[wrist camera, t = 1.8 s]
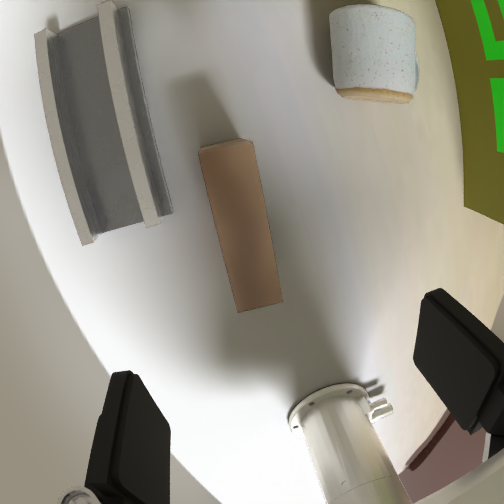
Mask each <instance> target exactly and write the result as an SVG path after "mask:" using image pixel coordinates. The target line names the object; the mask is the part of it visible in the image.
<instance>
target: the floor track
mask: <svg viewBox="0 0 504 504" xmlns="http://www.w3.org/2000/svg"><path fill="white" fill-rule="evenodd" d="M97 6H98V14H99V17H96V18H94V19H91V20H89V21H86V22H84V23H81V24H79V25H77V26H75V27H72V28H70V29H68V30H66V31H64V32H61V33H59V34H55V33H53V32H51V31H49V30H48V29H46V28H45V29H44V30H42V31H40V32H38V33H36V34H34V36H35V48H36V58H37V67H38V75H39V82H40V88H41V95H42V101H43V106H44V112H45V117H46V122H47V127H48V131H49V136H50V140H51V145H52V149H53V153H54V157H55V161H56V165H57V168H58V172H59V176H60V179H61V183H62V186H63V190H64V193H65V196H66V200H67V203H68V206H69V209H70V212H71V215H72V218H73V221H74V224H75V227H76V230H77V233H78V235H79V238H80V241H81V244H82V246H83V245H87V244H90V243H93V242H94V241H95V240H96V239H97V238H98V237H99V236H100V235H101V234H102V233H104V232H107V231H110V230H114V229H117V228H121V227H124V226H128V225H131V224H135V223H139V222H142V221H144V222H145V225H146V228H147V227H151V226H154V225H158V224H160V223H161V221H162V218H163V216H165V215H168V214H172V213H173V207H172V204H171V200H170V197H169V193H168V189H167V185H166V181H165V178H164V174H163V170H162V166H161V162H160V158H159V154H158V150H157V146H156V142H155V137H154V133H153V129H152V125H151V120H150V116H149V111H148V107H147V102H146V98H145V93H144V88H143V83H142V78H141V73H140V68H139V63H138V58H137V52H136V47H135V41H134V36H133V30H132V24H131V18H130V11H129V9H128V7H124V8H121V9H118V8H117V7H116V6H115V4H114V3H113V2H112V1H111V0H109V1H107V2H104V3H101V4H99V5H97Z"/></svg>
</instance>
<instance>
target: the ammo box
mask: <svg viewBox="0 0 504 504" xmlns="http://www.w3.org/2000/svg"><path fill="white" fill-rule="evenodd" d="M435 1H436V4H437V8H438V11H439V14H440V18H441V21H442V25H443V28H444V32H445V36H446V40H447V44H448V49H449V53H450V58H451V63H452V68H453V73H454V78H455V84H456V91H457V97H458V104H459V112H460V121H461V132H462V145H463V163H464V207H467V208H469V209H471V210H474V211H476V212H478V213H480V214H483V215H485V216H487V217H489V218H491V219H493V220H495V221H498V222H500V223H502V224H504V0H435Z"/></svg>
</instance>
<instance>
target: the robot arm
mask: <svg viewBox="0 0 504 504" xmlns="http://www.w3.org/2000/svg"><path fill="white" fill-rule="evenodd" d="M413 360H414V363H415V365H416V367H417V368H418V369H419V371H420V372H421V373H422V375H423V376H424V377H425V379H426V380H427V381H428V383H429V384H430V385H431V387H432V388H433V389H434V391H435V392H436V393H437V395H438V396H439V397H440V399H441V400H442V401H443V403H444V404H445V406H446V407H447V408H448V410H449V411H450V413H451V414H452V415H453V417H454V418H455V420H456V421H457V422H458V424H459V425H460V426H461V428H462V429H463V430H467V431H468V432H469V433H470V435H472V434H473V433H475V432H476V431H478V430H479V429H481V428H482V427H483V428H484V429H485V430H486V440H485V447H484V455H483V461H482V464H481V465H480V466H478V467H476V468H475V469H473V470H472V471H470V472H469V473H467V474H466V475H464V476H463V477H461V478H459V479H458V480H456V481H454V482H453V483H451V484H449V485H447V486H446V487H444V488H442V489H440V490H439V491H437V492H435V493H433V494H431V495H429V496H428V497H426V498H424V499H422V500H420V501H418V502H416V503H414V504H504V343H503V342H502V341H501V340H500V339H499V338H498V337H497V336H496V335H495V334H494V333H493V332H492V331H490V330H489V329H488V328H487V327H486V326H485V325H484V324H483V323H482V322H481V321H479V320H478V319H477V318H476V317H475V316H474V315H473V314H472V313H470V312H469V311H468V310H467V309H466V308H465V307H464V306H462V305H461V304H460V303H459V302H458V301H457V300H455V299H454V298H453V297H452V296H451V295H450V294H448V293H447V292H446V291H445V290H444V289H442V288H438V289H436V290H433V291H430V292H428V293H426V294H425V296H424V299H422V301H421V307H420V315H419V323H418V330H417V337H416V343H415V349H414V355H413ZM391 414H393V408H392V405H391V404H390V403H388V404H387V400H386V399H385V398H383V399H380V400H378V401H376V402H374V403H371V402H370V397H369V395H368V393H367V392H366V390H365V389H364V388H363V387H361V386H359V385H356V384H338V385H333V386H329V387H326V388H323V389H321V390H319V391H316V392H315V393H313V394H311V395H309V396H308V397H306V398H305V399H304V400H302V401H301V402H300V403H299V404H298V405H297V406H296V407H295V408H294V410H293V411H292V413H291V415H290V418H289V425H290V428H291V431H292V432H293V433H294V434H295V435H296V436H298V437H300V438H303V439H305V440H306V443H307V446H308V449H309V452H310V456H311V459H312V462H313V465H314V468H315V471H316V474H317V477H318V480H319V483H320V486H321V489H322V492H323V495H324V498H325V501H326V504H413V503H412V502H411V500H410V498H409V496H408V494H407V492H406V491H405V489H404V487H403V485H402V483H401V481H400V479H399V477H398V475H397V473H396V471H395V469H394V467H393V465H392V463H391V461H390V459H389V457H388V455H387V453H386V451H385V449H384V447H383V445H382V443H381V441H380V439H379V437H378V435H377V433H376V432H375V430H374V428H373V426H372V424H373V423H375V420H377V419H380V418H384V417H386V416H389V415H391ZM170 438H171V430H170V426H169V423H168V422H167V420H166V419H165V417H164V416H163V414H162V413H161V411H160V409H159V408H158V406H157V405H156V403H155V402H154V400H153V398H152V397H151V395H150V394H149V392H148V390H147V389H146V387H145V385H144V384H143V382H142V380H141V379H140V377H139V376H138V375H137V374H133V373H132V371H130V370H128V371H121V372H114V373H113V374H112V376H111V379H110V383H109V387H108V391H107V395H106V398H105V403H104V406H103V411H102V414H101V415H100V416H99V419H98V422H97V427H96V431H95V435H94V440H93V445H92V449H91V454H90V459H89V464H88V469H87V475H86V480H85V486H84V487H82V486H74V487H71V488H68V489H66V490H65V491H64V492H63V493H62V494H61V496H60V498H59V499H58V502H57V504H170Z"/></svg>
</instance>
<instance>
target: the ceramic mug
mask: <svg viewBox="0 0 504 504" xmlns="http://www.w3.org/2000/svg"><path fill="white" fill-rule="evenodd" d="M329 23H330V35H331V48H332V60H333V80H334V84H335V88H336V91H337V93H338V94H339V95H341V96H342V97H344V98H350V99H358V100H368V101H378V102H389V103H408V102H409V101H411V100H412V98H413V94H414V92H415V90H416V89H417V86H418V83H419V73H420V71H419V63H418V59H417V55H416V53H415V52H416V49H415V24H414V21H413V19H412V18H411V17H410V16H409V15H407V14H406V13H404V12H402V11H399V10H396V9H394V8H390V7H384V6H380V5H372V4H357V5H347V6H344V7H340V8H338V9H335V10H333V11H332V12H331V13H330V15H329Z"/></svg>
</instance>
